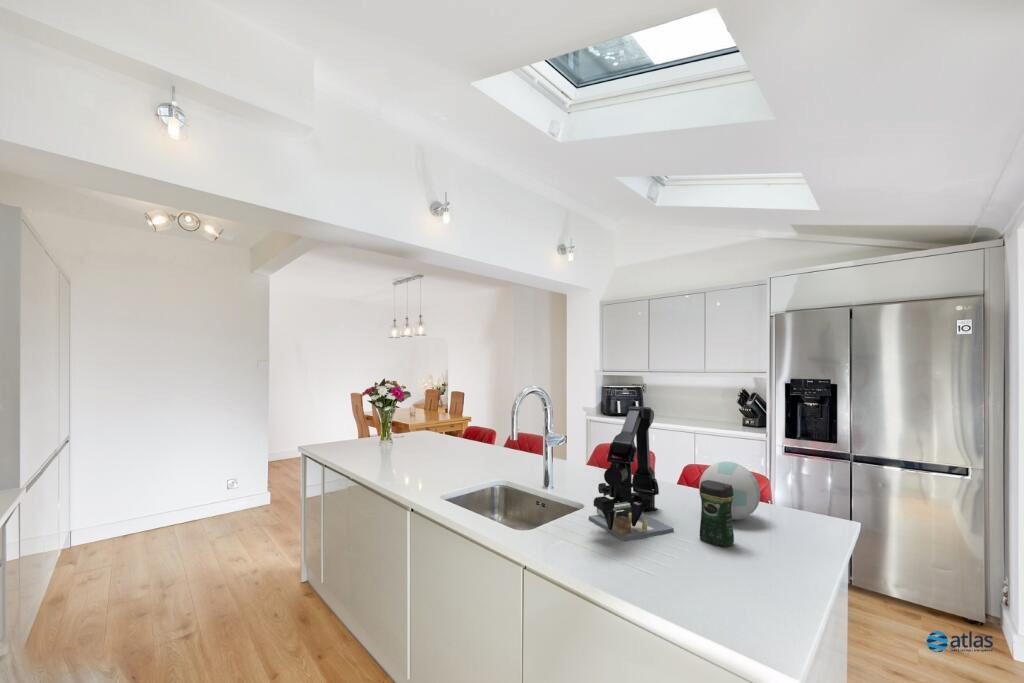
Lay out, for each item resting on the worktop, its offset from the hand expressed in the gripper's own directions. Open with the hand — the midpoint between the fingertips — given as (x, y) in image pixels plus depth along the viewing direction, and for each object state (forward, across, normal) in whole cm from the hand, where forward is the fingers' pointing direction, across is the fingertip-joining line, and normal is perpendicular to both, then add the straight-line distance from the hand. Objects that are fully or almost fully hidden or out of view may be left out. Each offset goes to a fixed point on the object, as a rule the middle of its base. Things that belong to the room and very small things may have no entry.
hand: (621, 527), depth 147 cm
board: (+2, -8, -6) cm, 10 cm away
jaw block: (+1, 0, 0) cm, 1 cm away
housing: (+1, -8, -14) cm, 16 cm away
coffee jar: (+2, -25, +15) cm, 29 cm away
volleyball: (+2, -47, +1) cm, 47 cm away
